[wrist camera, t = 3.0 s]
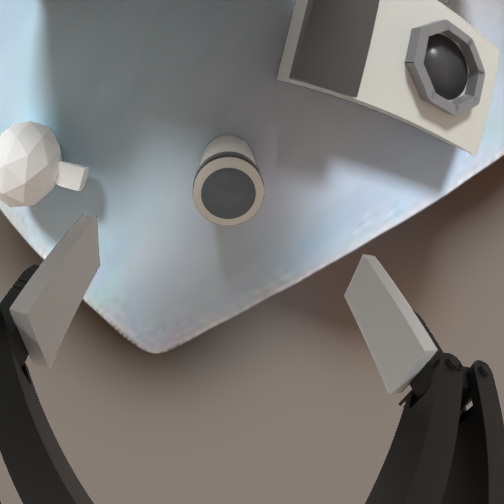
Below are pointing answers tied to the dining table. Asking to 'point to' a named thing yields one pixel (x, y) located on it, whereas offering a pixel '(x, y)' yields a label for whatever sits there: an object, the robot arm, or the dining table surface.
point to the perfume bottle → (34, 165)
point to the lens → (228, 182)
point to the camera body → (396, 62)
